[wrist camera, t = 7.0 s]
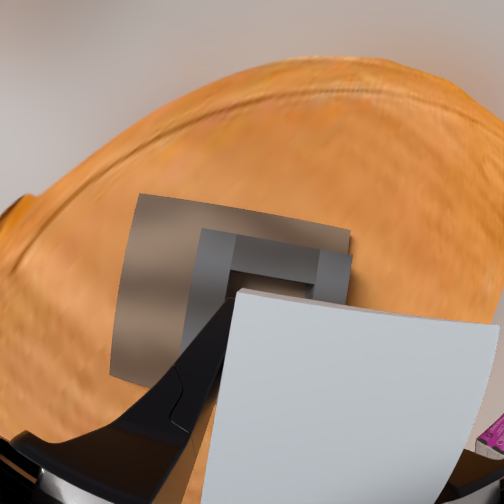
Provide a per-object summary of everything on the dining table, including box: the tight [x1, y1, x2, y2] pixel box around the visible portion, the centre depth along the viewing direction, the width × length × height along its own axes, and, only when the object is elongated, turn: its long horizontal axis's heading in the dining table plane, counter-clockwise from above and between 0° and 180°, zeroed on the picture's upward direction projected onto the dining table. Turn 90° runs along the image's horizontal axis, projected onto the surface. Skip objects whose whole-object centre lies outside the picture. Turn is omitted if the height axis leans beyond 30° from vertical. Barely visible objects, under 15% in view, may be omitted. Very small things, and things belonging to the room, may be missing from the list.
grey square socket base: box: [109, 193, 352, 404], centre depth 21 cm, size 16×18×4 cm
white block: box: [201, 288, 500, 504], centre depth 10 cm, size 4×4×14 cm
